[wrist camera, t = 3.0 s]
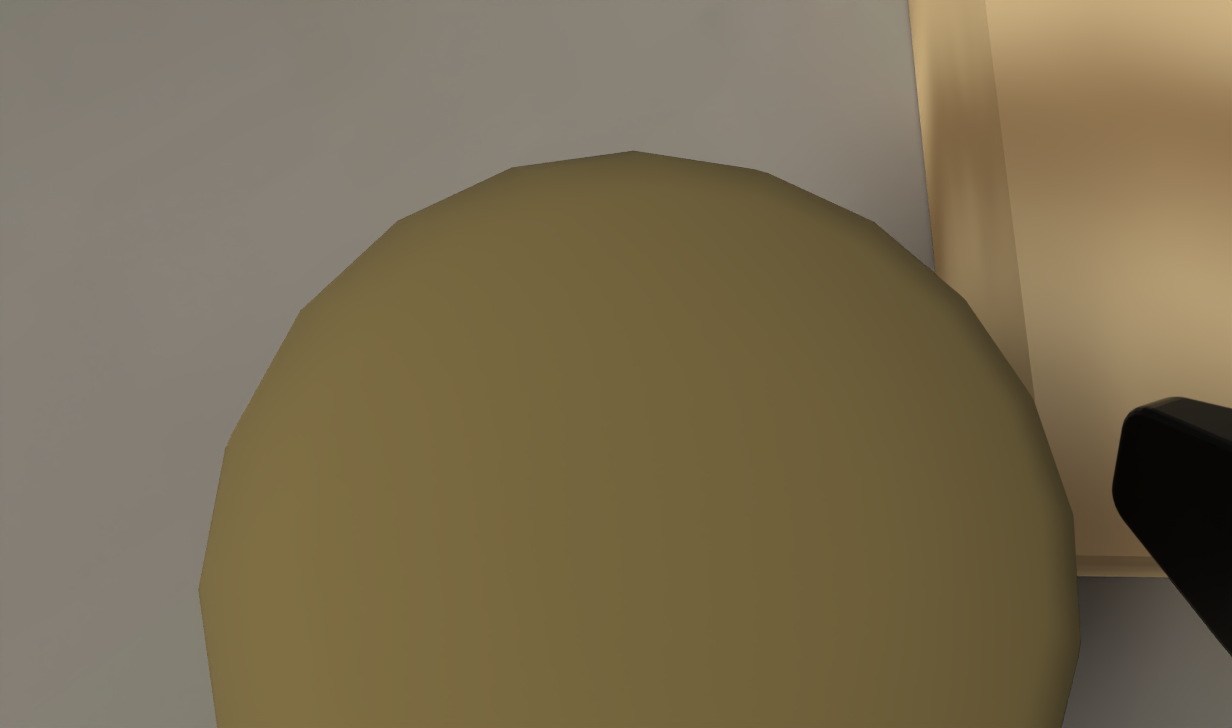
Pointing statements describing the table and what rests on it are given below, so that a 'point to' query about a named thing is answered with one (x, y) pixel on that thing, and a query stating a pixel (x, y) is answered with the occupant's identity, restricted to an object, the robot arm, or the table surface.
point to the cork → (639, 477)
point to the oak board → (1086, 214)
